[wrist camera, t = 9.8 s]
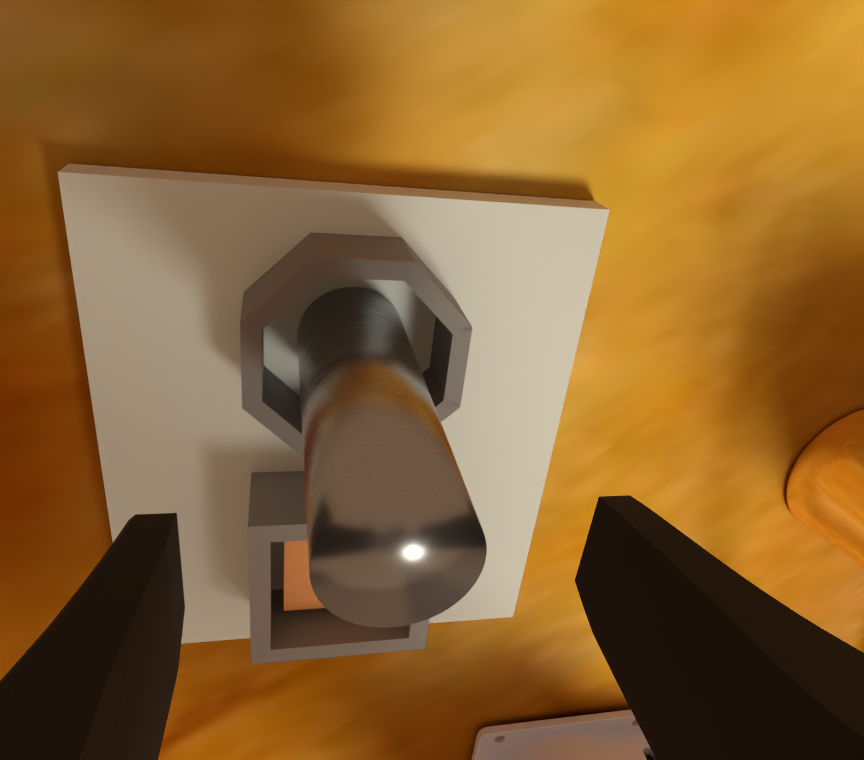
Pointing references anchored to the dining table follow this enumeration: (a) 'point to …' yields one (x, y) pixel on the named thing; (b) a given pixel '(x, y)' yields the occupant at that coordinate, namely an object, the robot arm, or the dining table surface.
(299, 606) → the button
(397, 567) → the metal cylinder
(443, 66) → the dining table surface
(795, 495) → the beer glass
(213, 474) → the panel
